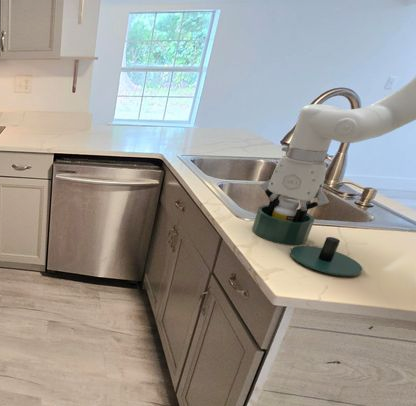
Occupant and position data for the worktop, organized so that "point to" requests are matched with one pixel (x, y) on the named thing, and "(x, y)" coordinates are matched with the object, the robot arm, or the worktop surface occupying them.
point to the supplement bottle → (286, 210)
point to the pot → (281, 228)
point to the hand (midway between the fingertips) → (284, 217)
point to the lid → (326, 259)
